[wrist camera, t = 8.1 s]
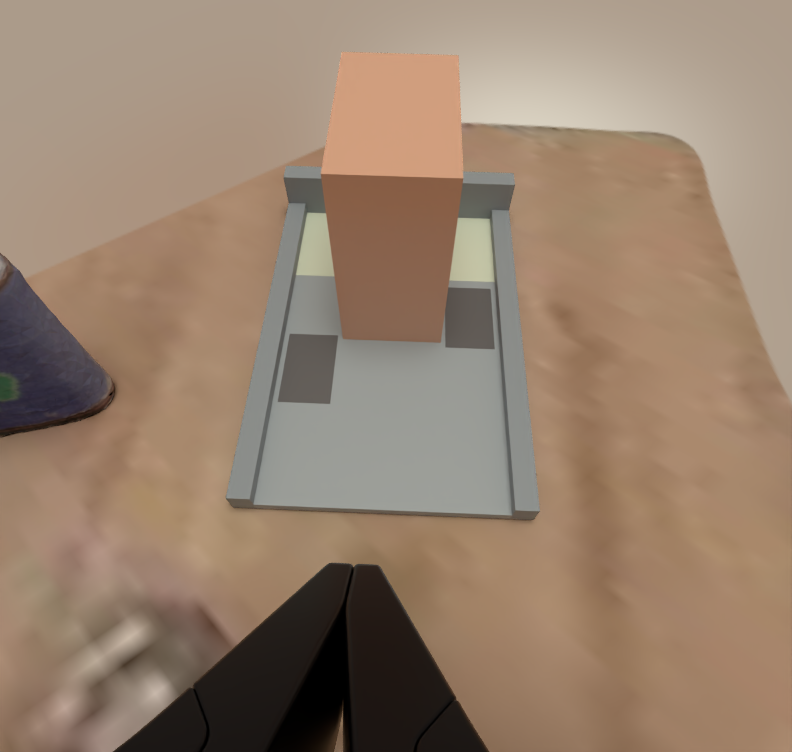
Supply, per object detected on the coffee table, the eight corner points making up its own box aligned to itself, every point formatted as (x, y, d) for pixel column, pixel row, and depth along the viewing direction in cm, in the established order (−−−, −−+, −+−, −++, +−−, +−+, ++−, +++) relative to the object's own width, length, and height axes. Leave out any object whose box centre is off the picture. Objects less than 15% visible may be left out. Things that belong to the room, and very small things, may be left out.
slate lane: (533, 519, 23) (551, 497, 20) (233, 507, 23) (213, 483, 20) (503, 214, 33) (513, 173, 30) (294, 207, 33) (286, 165, 30)
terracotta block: (440, 342, 27) (463, 178, 19) (343, 339, 27) (320, 173, 19) (439, 231, 31) (458, 55, 23) (355, 228, 31) (341, 51, 23)
